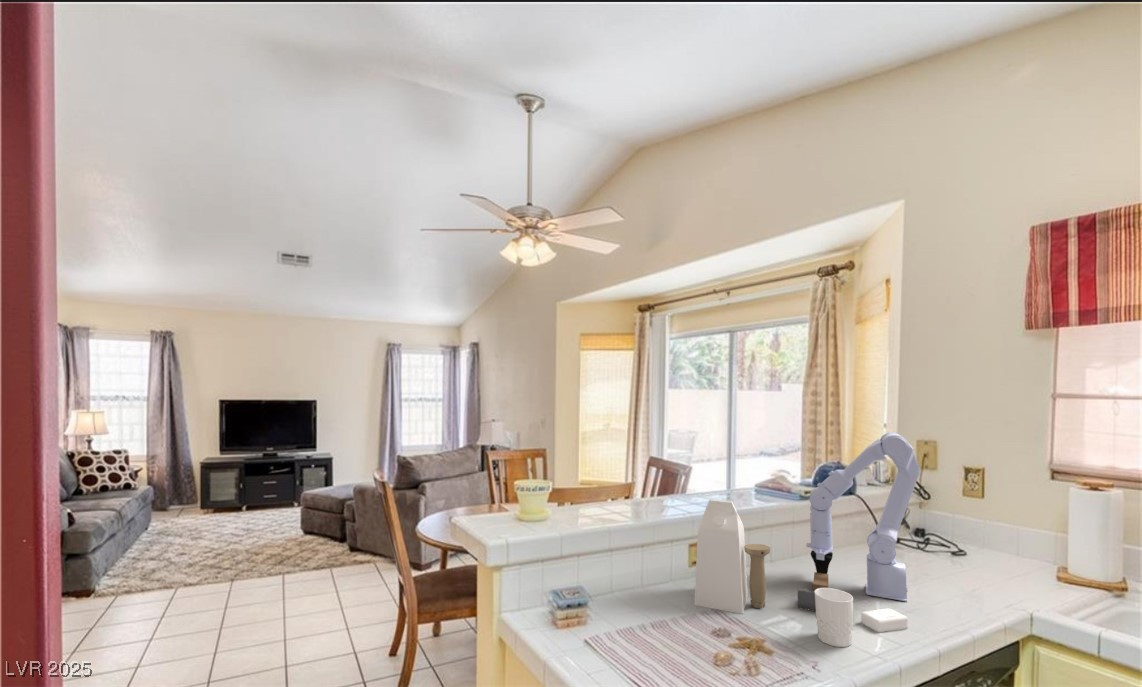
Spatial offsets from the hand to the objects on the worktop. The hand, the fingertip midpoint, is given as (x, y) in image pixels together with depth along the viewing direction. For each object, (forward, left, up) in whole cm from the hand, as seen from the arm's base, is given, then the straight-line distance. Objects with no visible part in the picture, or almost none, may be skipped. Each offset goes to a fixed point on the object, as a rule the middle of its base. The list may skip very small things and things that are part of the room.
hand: (822, 578), depth 152 cm
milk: (+23, +26, -2) cm, 35 cm away
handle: (+14, +25, -2) cm, 29 cm away
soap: (-14, +22, -2) cm, 26 cm away
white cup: (-4, +35, -2) cm, 36 cm away
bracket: (0, +17, -1) cm, 18 cm away
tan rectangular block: (0, +7, -2) cm, 7 cm away
